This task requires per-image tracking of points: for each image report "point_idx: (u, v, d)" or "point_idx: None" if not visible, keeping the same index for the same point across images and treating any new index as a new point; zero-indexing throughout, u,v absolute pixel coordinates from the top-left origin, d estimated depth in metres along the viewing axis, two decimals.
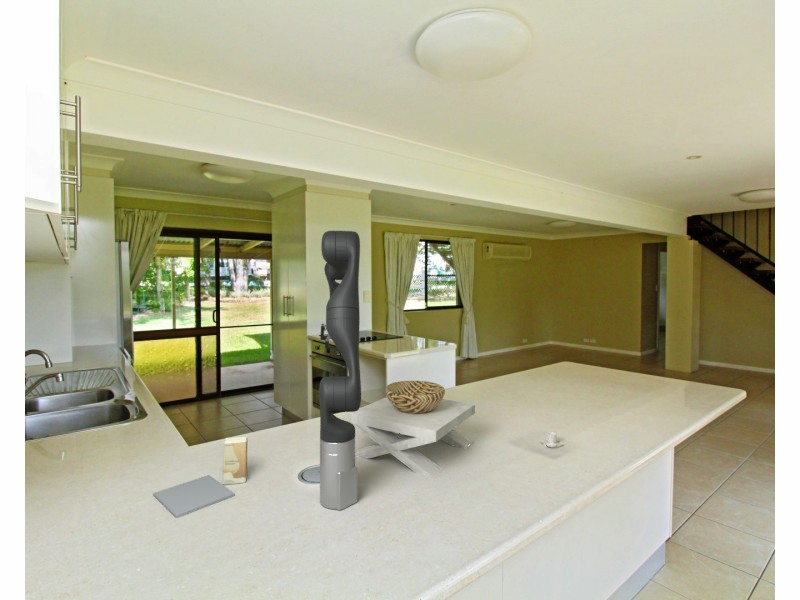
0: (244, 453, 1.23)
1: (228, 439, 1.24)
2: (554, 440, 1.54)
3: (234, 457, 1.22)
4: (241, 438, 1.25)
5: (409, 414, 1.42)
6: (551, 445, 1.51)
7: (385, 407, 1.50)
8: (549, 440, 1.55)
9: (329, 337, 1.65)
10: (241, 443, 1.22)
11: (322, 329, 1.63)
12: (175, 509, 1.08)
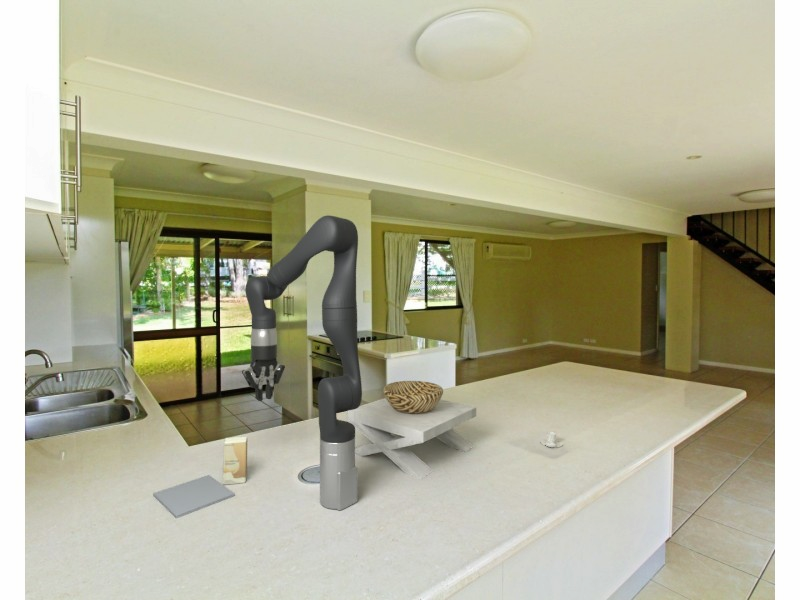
0: (244, 453, 1.23)
1: (228, 439, 1.24)
2: (554, 440, 1.54)
3: (234, 457, 1.22)
4: (241, 438, 1.25)
5: (404, 414, 1.42)
6: (551, 445, 1.51)
7: (384, 406, 1.51)
8: (549, 440, 1.55)
9: (261, 381, 1.28)
10: (241, 442, 1.22)
11: (248, 374, 1.25)
12: (175, 509, 1.08)
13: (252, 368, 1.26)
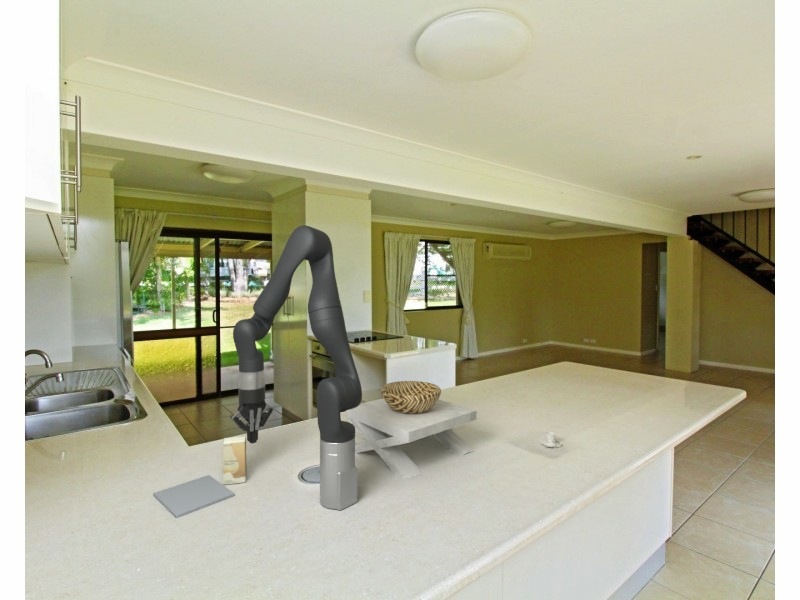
0: (243, 453, 1.22)
1: (226, 439, 1.23)
2: (553, 440, 1.54)
3: (233, 457, 1.22)
4: (240, 437, 1.25)
5: (399, 413, 1.43)
6: (550, 445, 1.51)
7: (383, 405, 1.52)
8: (548, 440, 1.55)
9: (251, 424, 1.26)
10: (240, 442, 1.22)
11: (237, 420, 1.23)
12: (175, 509, 1.08)
13: (240, 412, 1.24)
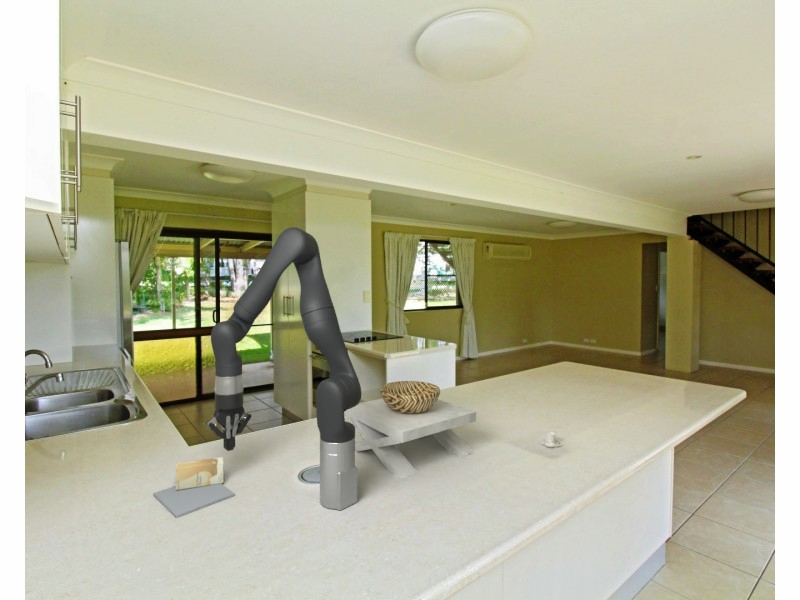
0: (189, 468, 1.18)
1: None
2: (553, 440, 1.54)
3: (192, 477, 1.18)
4: None
5: (397, 413, 1.43)
6: (550, 445, 1.51)
7: (383, 404, 1.53)
8: (548, 440, 1.55)
9: (228, 431, 1.21)
10: (176, 473, 1.16)
11: (213, 427, 1.18)
12: (175, 509, 1.08)
13: (216, 419, 1.19)
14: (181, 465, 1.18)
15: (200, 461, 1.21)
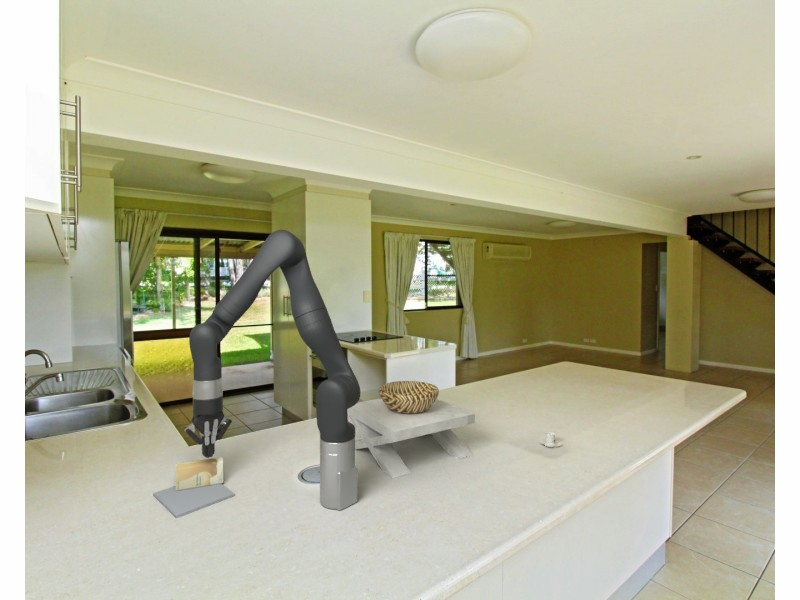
0: (189, 469, 1.18)
1: None
2: (553, 440, 1.54)
3: (192, 478, 1.18)
4: None
5: (395, 413, 1.43)
6: (549, 445, 1.51)
7: (383, 404, 1.53)
8: (548, 440, 1.55)
9: (207, 437, 1.16)
10: (176, 473, 1.16)
11: (190, 433, 1.13)
12: (175, 509, 1.08)
13: (194, 424, 1.14)
14: (181, 466, 1.18)
15: (200, 461, 1.21)
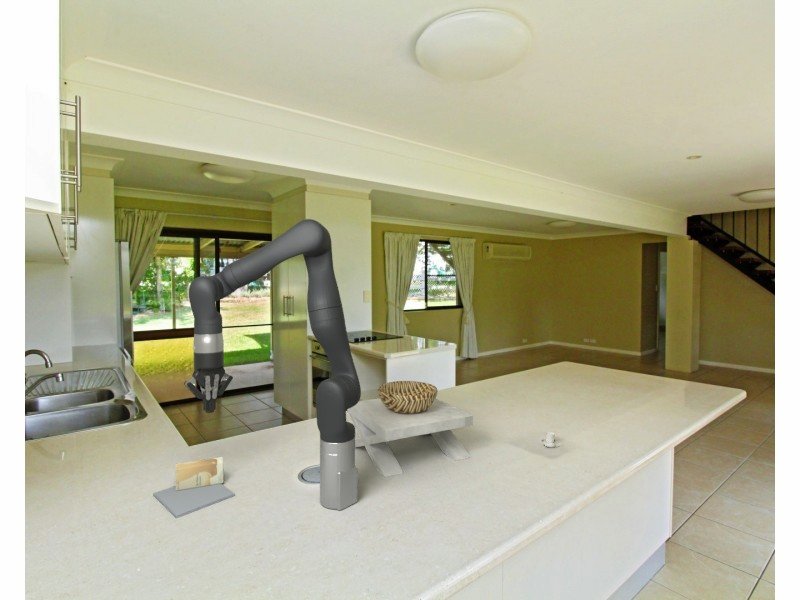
0: (189, 469, 1.18)
1: None
2: (552, 440, 1.54)
3: (192, 478, 1.18)
4: None
5: (392, 412, 1.44)
6: (549, 445, 1.51)
7: (383, 403, 1.54)
8: (547, 440, 1.55)
9: (208, 392, 1.16)
10: (176, 473, 1.16)
11: (191, 386, 1.13)
12: (175, 509, 1.08)
13: (195, 378, 1.14)
14: (181, 466, 1.18)
15: (200, 461, 1.21)
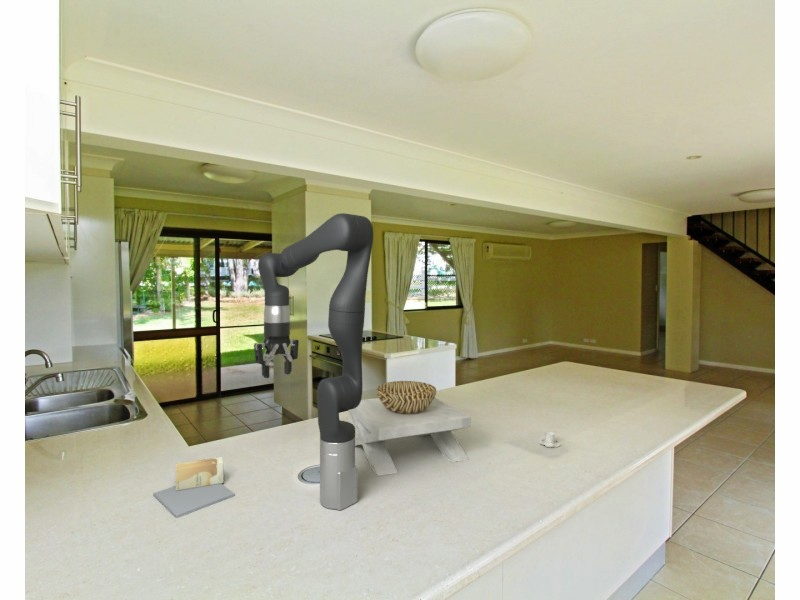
0: (189, 469, 1.18)
1: None
2: (552, 440, 1.54)
3: (192, 478, 1.18)
4: None
5: (390, 412, 1.44)
6: (549, 445, 1.51)
7: None
8: (547, 440, 1.55)
9: (269, 358, 1.25)
10: (176, 473, 1.16)
11: (260, 348, 1.23)
12: (175, 509, 1.08)
13: (265, 344, 1.24)
14: (181, 466, 1.18)
15: (200, 461, 1.21)
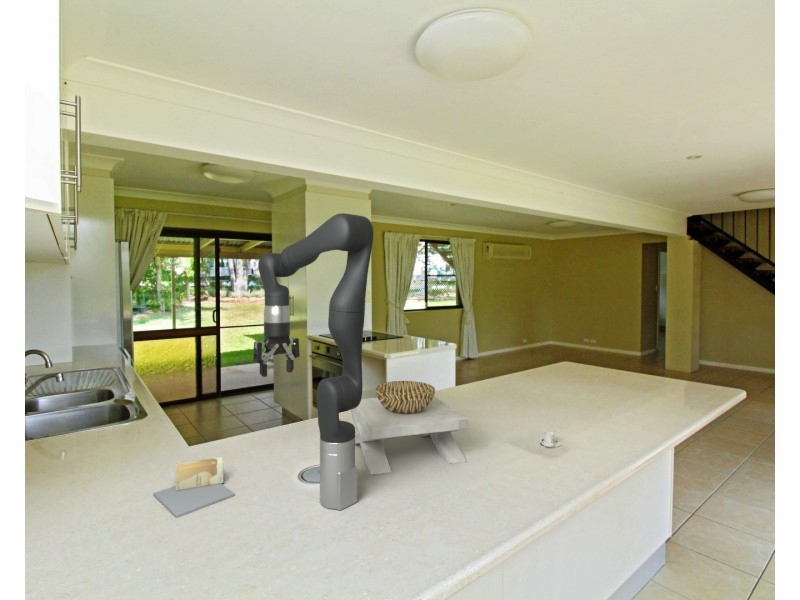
0: (189, 469, 1.18)
1: None
2: (552, 440, 1.54)
3: (192, 478, 1.18)
4: None
5: (388, 411, 1.45)
6: (549, 445, 1.51)
7: None
8: (547, 440, 1.55)
9: (268, 357, 1.25)
10: (176, 473, 1.16)
11: (260, 346, 1.23)
12: (175, 509, 1.08)
13: (265, 343, 1.24)
14: (181, 466, 1.18)
15: (200, 461, 1.21)
